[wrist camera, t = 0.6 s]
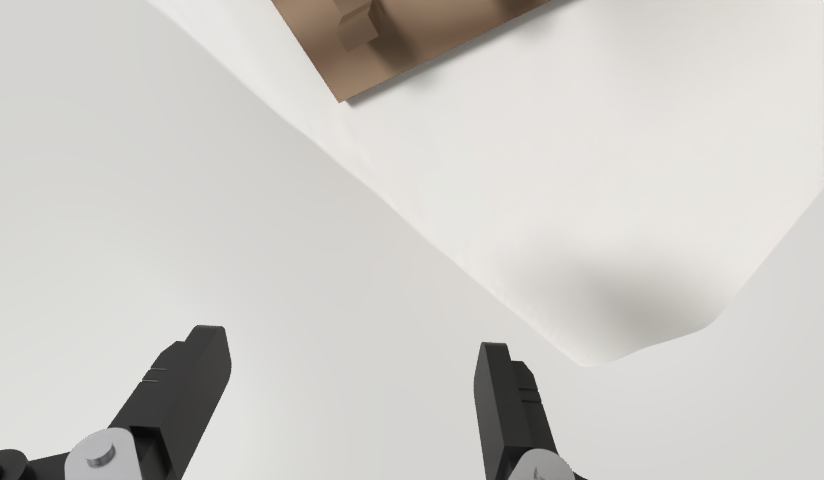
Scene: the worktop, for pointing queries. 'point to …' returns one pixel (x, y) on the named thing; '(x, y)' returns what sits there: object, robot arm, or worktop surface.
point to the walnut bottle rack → (387, 34)
